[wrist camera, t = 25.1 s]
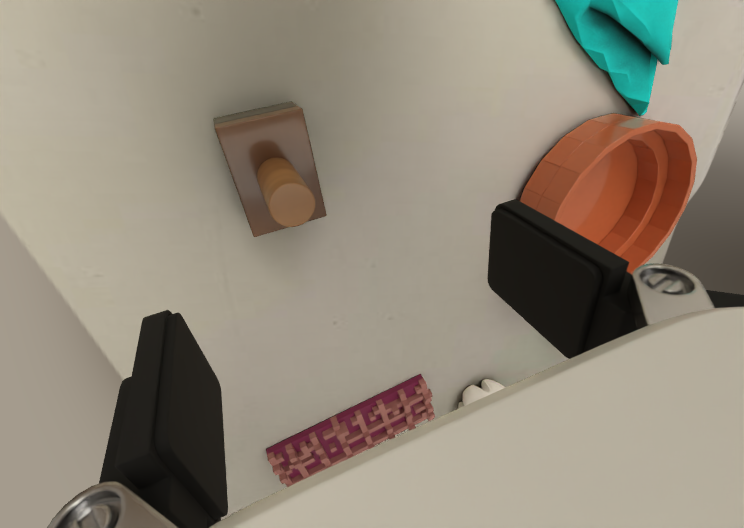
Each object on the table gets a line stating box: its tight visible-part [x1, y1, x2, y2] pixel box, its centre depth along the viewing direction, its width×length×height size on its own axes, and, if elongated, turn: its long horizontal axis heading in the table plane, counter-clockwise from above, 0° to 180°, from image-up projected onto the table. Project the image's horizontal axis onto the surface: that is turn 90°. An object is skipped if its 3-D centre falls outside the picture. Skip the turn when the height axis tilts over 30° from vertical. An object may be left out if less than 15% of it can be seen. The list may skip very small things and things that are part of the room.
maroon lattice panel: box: [266, 374, 435, 487], centre depth 43 cm, size 7×19×2 cm, turn 103°
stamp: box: [214, 102, 326, 237], centre depth 23 cm, size 7×5×8 cm
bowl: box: [520, 113, 697, 274], centre depth 37 cm, size 17×17×5 cm
